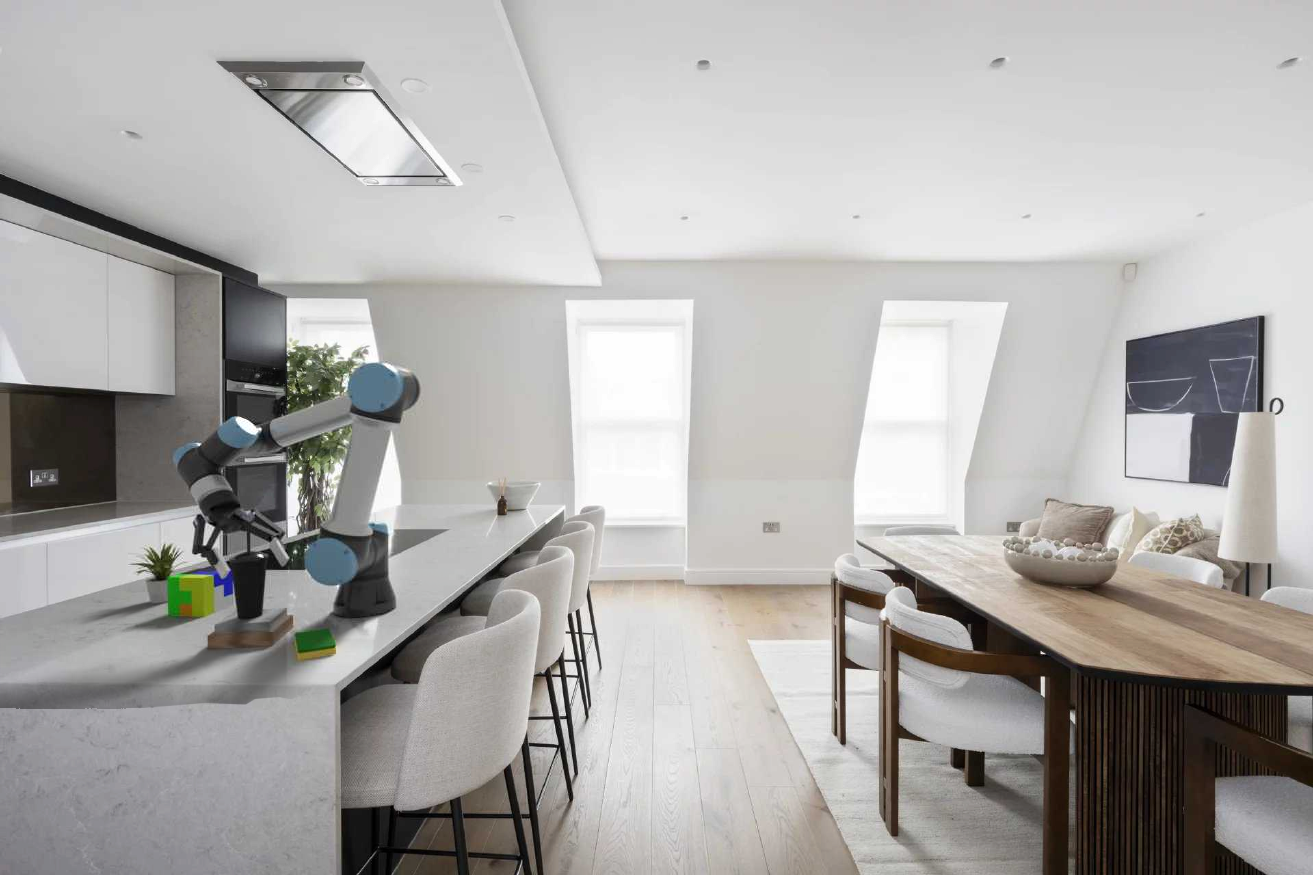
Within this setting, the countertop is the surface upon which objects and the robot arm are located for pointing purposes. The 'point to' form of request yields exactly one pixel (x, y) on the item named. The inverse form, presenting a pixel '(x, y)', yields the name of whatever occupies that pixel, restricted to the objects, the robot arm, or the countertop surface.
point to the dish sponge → (314, 643)
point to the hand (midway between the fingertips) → (257, 568)
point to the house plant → (159, 572)
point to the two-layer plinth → (251, 630)
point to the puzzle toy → (199, 593)
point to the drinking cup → (249, 581)
